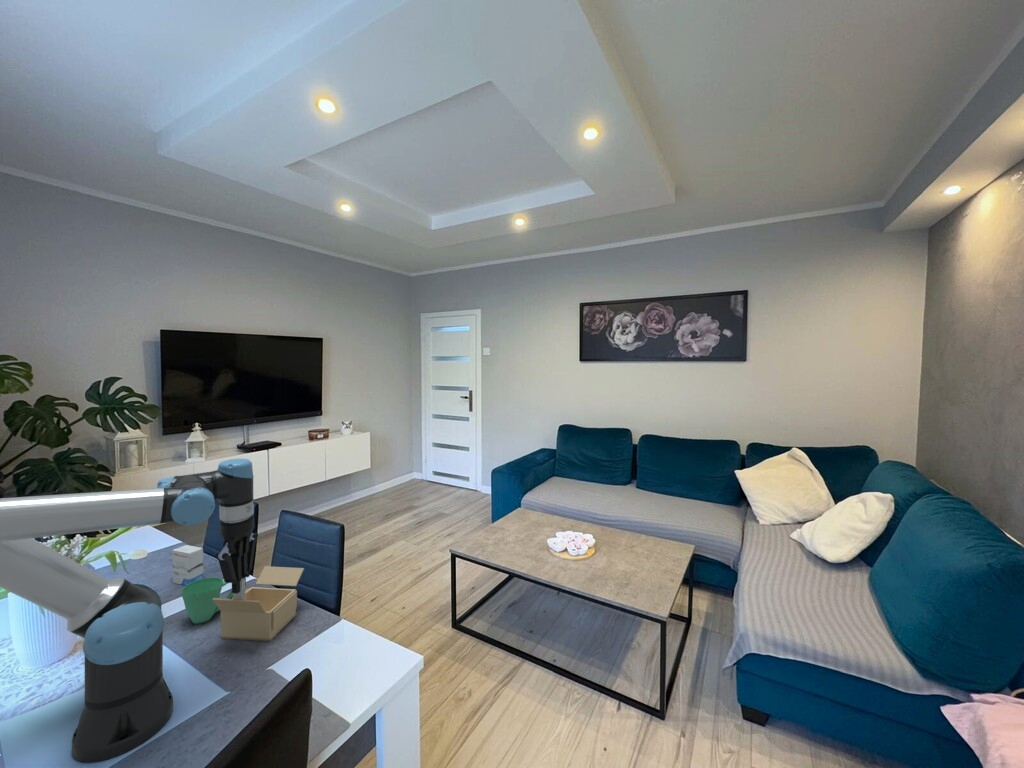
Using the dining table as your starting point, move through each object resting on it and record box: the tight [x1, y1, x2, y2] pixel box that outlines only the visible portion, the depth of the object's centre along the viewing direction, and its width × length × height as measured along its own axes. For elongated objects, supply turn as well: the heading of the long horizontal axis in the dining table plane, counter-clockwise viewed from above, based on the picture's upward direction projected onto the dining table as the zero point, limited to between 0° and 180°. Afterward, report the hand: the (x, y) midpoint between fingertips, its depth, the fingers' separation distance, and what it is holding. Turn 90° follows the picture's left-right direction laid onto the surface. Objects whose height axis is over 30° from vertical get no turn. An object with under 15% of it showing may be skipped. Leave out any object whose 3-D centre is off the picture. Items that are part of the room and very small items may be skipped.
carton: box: [220, 586, 298, 642], centre depth 117 cm, size 12×15×8 cm
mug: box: [181, 576, 233, 624], centre depth 122 cm, size 15×10×10 cm
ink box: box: [171, 544, 205, 587], centre depth 140 cm, size 9×5×12 cm, turn 73°
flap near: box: [212, 597, 266, 613], centre depth 108 cm, size 1×13×6 cm, turn 87°
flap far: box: [255, 565, 305, 587], centre depth 126 cm, size 1×13×6 cm
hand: (239, 602), depth 108 cm, fingers closed
